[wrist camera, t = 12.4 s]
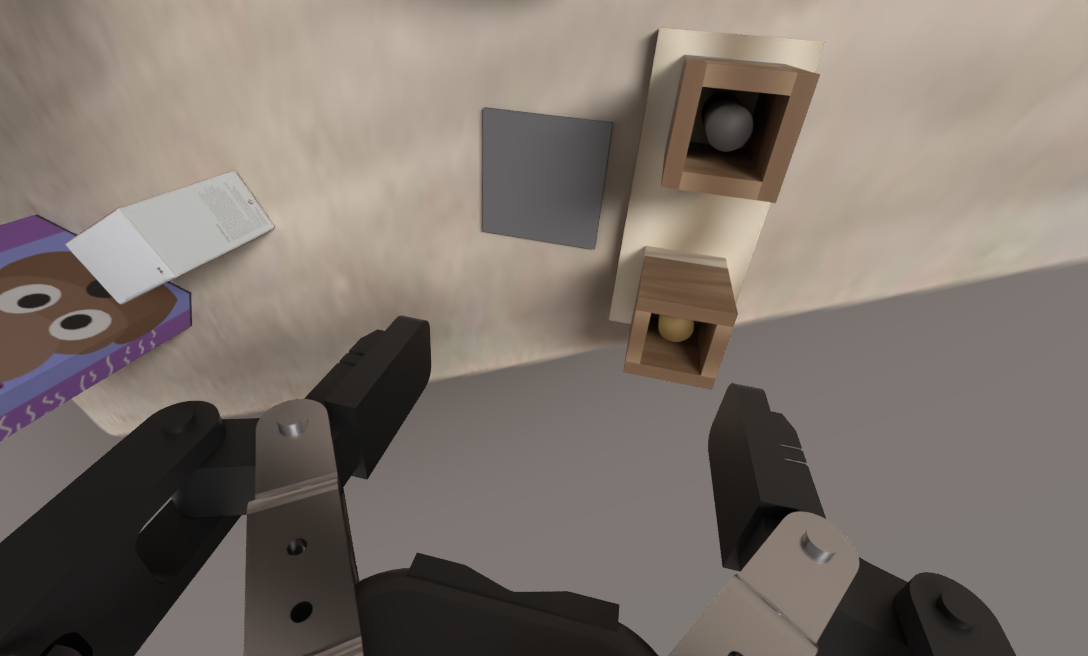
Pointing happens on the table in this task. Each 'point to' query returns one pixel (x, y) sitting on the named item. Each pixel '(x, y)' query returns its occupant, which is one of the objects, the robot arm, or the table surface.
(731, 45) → the pin board
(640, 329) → the sleeve brown
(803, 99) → the wooden pen holder
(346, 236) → the table surface
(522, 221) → the mat
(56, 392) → the cereal box
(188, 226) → the small box
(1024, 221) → the table surface
